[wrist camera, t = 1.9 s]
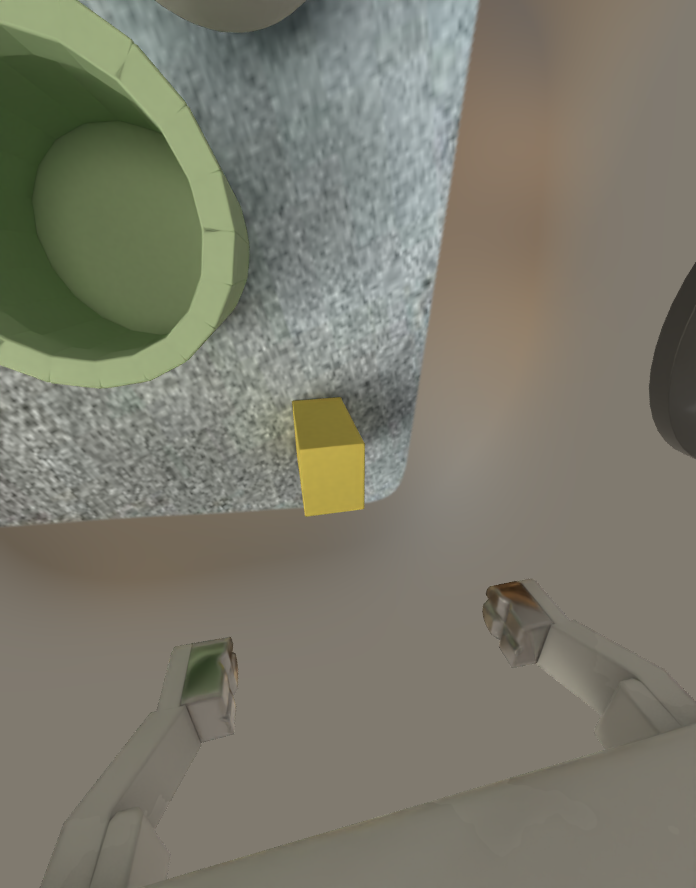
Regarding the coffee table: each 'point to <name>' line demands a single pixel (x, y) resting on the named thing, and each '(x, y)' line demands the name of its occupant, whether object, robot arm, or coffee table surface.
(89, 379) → the jar
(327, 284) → the coffee table surface
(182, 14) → the teacup
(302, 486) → the sponge
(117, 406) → the coffee table surface
